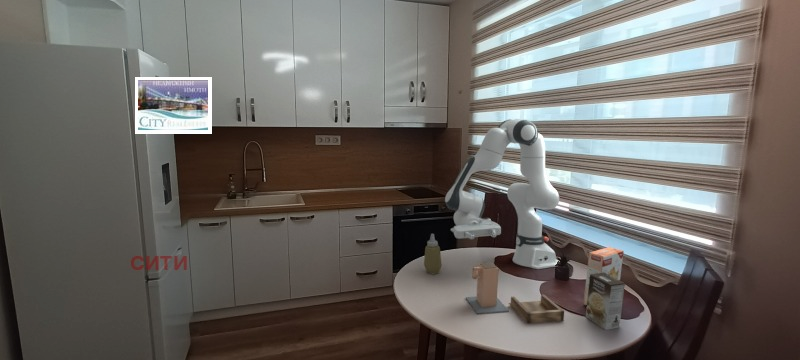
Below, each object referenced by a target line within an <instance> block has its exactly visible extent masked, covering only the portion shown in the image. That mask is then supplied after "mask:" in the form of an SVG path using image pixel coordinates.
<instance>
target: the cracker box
mask: <svg viewBox="0 0 800 360" xmlns="http://www.w3.org/2000/svg"><path fill="white" fill-rule="evenodd" d="M624 253H625V252H624V250H621V249H618V248H614V247H611V246H608V247H605V248H601V249H598V250H594V251H590V252H589V253H588V259H587V260H588V262H587V268H586V269H587V270H586V280H585V285H584V287H585V288H584V295H583V296H584V297H583V305H584V306H586V305H587V299H588V290H589V280H590V274H595V273H603V272H604V273H606V274H608V275H610V276H612V277H614V278H616V279H618V280H620V281H621V274H622V273H621V272H622V267H623V266H622V265H623V258H624Z"/></svg>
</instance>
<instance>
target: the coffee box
mask: <svg viewBox="0 0 800 360" xmlns="http://www.w3.org/2000/svg"><path fill="white" fill-rule="evenodd" d="M625 287H626V286H625V282H624V281H623V280H622V281H621V279H620V280H618V279H616V278H614V277H612V276H610V275H608V274H606V273H604V272H603V273H595V274H590V280H589V290H588V299H587V306H586V311H585V318H587V319H588V318H589V319H588V320H590V321H591V320H592V321H591V322H593V323H594V324H596V325H597V326H599V327H600V328H602V329H604V331H608V330H612V329H613V330H614V329H618V328H620V325H621V317H622V311H623V310H622V309H623V302H624V301H623V300H624V293H625Z"/></svg>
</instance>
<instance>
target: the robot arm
mask: <svg viewBox="0 0 800 360" xmlns="http://www.w3.org/2000/svg"><path fill="white" fill-rule="evenodd" d="M509 144H518V145H519V148H520V157H519V158H520V159H519V160H520V164H519V166H520V168H519V171H520V173H521V175H522V176H523V177H524V178H526V179H527V181H528V183H525V182H516V183H512V184H511V185H509V187H508V188H507V194H506V195H507V199H508V201H510V202H511V203H512V205H513V207H514V208H515V212H516V215H517V232H516V240H515V244H516V245H515V246H516V247H515V251H514V255H513V257H512V262H513V263H514V264H516V265H519V266H521V267H527V268H531V269H534V270H540V269H541V270H542V269H546V268H547V269H548V268H554V267H556V266H555V265H556V264H557V262H558V261H559V260H558V259H557V256H556V252H555V250H554V249H552V248H551V246H549V245H548V244H547V243H545V242H549V240H550V239H549V237H547V236H544V235H543V234H542V233H543V219H542V217H541V216H539V214H537V212H536V211H535V209H540V210H554V209H555V208H556V207H557V206H558V205H559V202H560V194H559V192H558V190H557V189H556V188H554V186H553V185H552V184H551V182H550V181H549V178H548V176H547V172H546V145H545V140H544V136H543V135H542V134H541V133H539V132H538V130H537V126H536V125H535V124H534V123H533V122H532V121H530V120H527V119H521V118H514V119H506V120H504V121H502V122H501V123H500V124H499V126H498V127H491V128H490V129H488V131H487V133H486V134H485V136H484V137H483V140H482V141H481V144H480V146H479V147H480V148H478V151H477V152H476V153H475V155H473V156H470V157H469V158H468V159H467V160H466V161H465V163H464V165H463V166H462V168H461V170H460V172H459V173H458V175H457V177H456V179H455V181H454V182H453V184H452V186H451V187H449V190H448V191H447V193H446V195H445V198H444V203H445V205H446V207H447V208H448V210H453V211H455V212H454V214H453V221H454V224H455V225H454V226H453V227H452V228H450V231H451V232H452V233H453V235H454V237H455V238H456V239H469V240H475V238H477V237H478V238H479V237H489V236H491V237H492V238H496V237H497V236H500V235H501V234H502V227H501V226H500V224H498V223H497V222H495V221H492V220H491V218H489V217H482V216H483V214H484V211H485V208H486V203H485V201H484V197H482V196H481V195H479V194H475V193H471V192H468V191H465V190H464V187H465V186H466V184H467V182H468V181H469V179H470V177H471V175H472V174H474V173H476V172H484V171H491V170H494V169H496V168H497V167H499V165H500V164H501V162H502V160H503V157H504V154H505V152H506V149H507V147H508V146H509Z"/></svg>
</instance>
